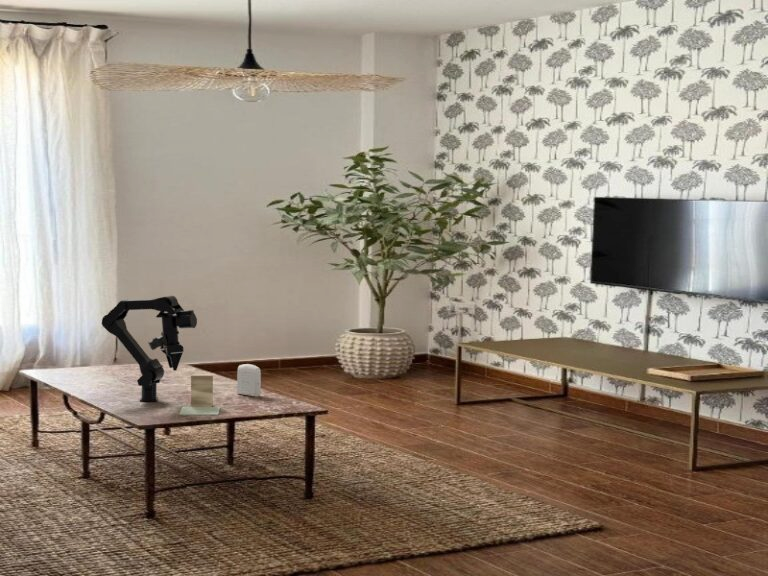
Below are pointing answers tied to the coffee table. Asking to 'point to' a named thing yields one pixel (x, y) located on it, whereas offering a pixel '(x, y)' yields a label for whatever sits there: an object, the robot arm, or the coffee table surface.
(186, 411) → the mat
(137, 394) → the coffee table surface
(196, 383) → the birch tile
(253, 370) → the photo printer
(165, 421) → the coffee table surface
